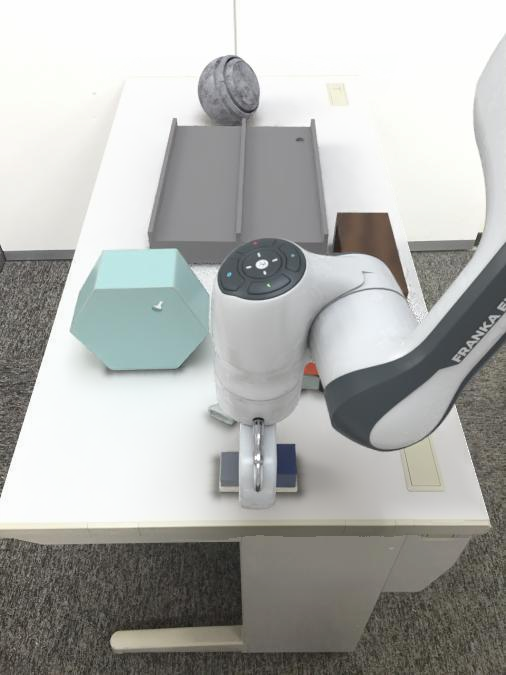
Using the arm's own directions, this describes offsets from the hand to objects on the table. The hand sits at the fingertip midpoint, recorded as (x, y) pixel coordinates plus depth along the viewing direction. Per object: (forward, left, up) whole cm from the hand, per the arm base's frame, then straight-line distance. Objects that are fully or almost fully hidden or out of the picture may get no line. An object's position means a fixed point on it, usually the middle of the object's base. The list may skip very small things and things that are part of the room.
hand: (256, 447), depth 65 cm
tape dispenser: (+12, -11, -8) cm, 18 cm away
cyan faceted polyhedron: (+27, +3, -8) cm, 28 cm away
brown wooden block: (+21, -35, -8) cm, 41 cm away
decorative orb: (+83, -44, -8) cm, 94 cm away
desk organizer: (+54, -30, -8) cm, 62 cm away
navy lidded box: (0, 0, -8) cm, 8 cm away
